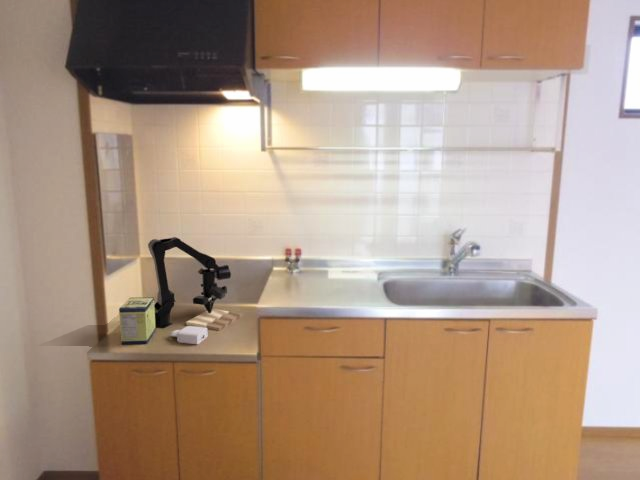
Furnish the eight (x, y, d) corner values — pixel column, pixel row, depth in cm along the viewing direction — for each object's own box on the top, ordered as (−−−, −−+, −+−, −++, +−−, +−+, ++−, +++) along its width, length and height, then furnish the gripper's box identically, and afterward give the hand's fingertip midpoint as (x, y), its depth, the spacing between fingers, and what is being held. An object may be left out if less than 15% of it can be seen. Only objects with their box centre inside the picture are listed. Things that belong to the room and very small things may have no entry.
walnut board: (219, 331, 206) (219, 327, 205) (206, 328, 208) (206, 325, 208) (242, 316, 224) (242, 313, 224) (229, 314, 226) (229, 311, 226)
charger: (176, 333, 202) (207, 337, 199) (164, 342, 194) (197, 345, 190) (175, 323, 201) (207, 326, 198) (164, 331, 193) (197, 334, 189)
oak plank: (204, 328, 208) (204, 325, 208) (186, 324, 212) (186, 321, 211) (228, 314, 227) (228, 311, 226) (211, 311, 230) (210, 308, 230)
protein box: (156, 330, 206) (154, 296, 203) (147, 344, 191) (145, 308, 188) (131, 330, 204) (129, 297, 202) (120, 345, 189) (118, 308, 186)
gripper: (212, 289, 210) (213, 321, 213) (233, 278, 227) (234, 308, 230) (191, 286, 213) (192, 318, 216) (213, 276, 230) (215, 306, 234)
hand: (209, 312), depth 224 cm, fingers closed, pressing on oak plank
